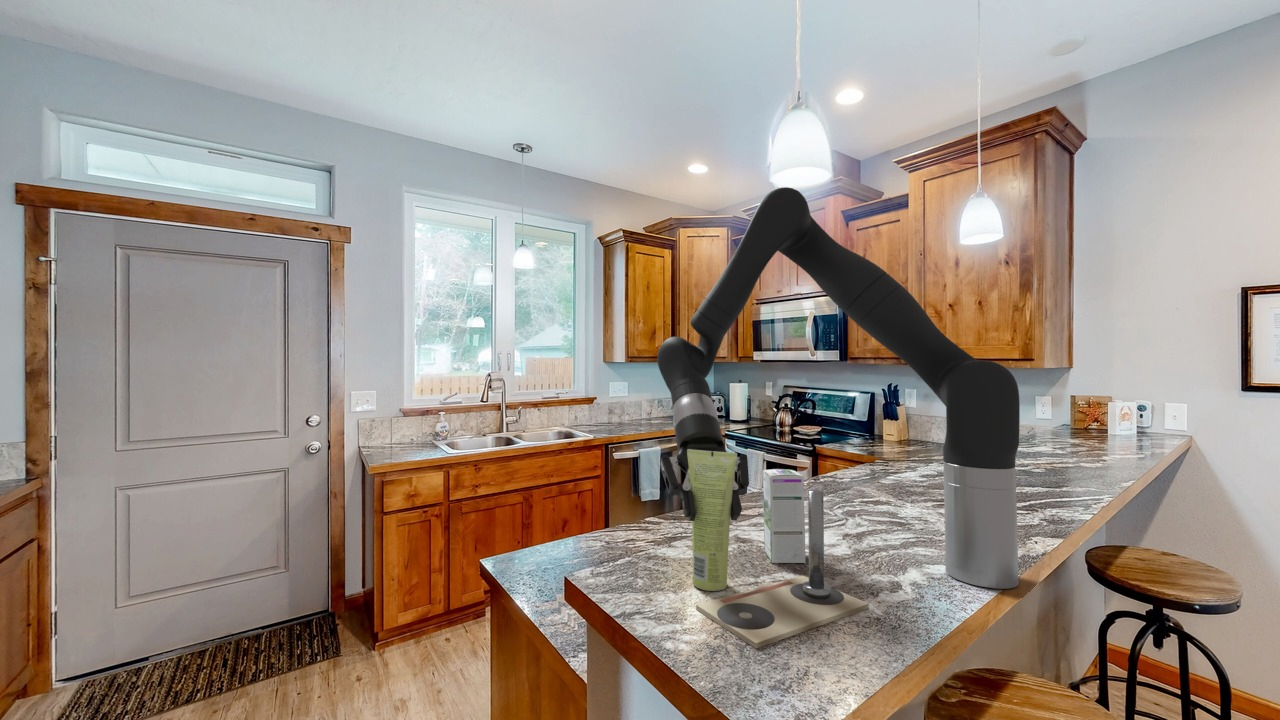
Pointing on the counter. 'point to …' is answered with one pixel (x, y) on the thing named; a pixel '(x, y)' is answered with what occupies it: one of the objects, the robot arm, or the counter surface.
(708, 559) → the tube
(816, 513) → the fixed peg
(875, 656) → the counter surface
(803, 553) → the syrup box
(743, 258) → the robot arm
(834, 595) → the board
